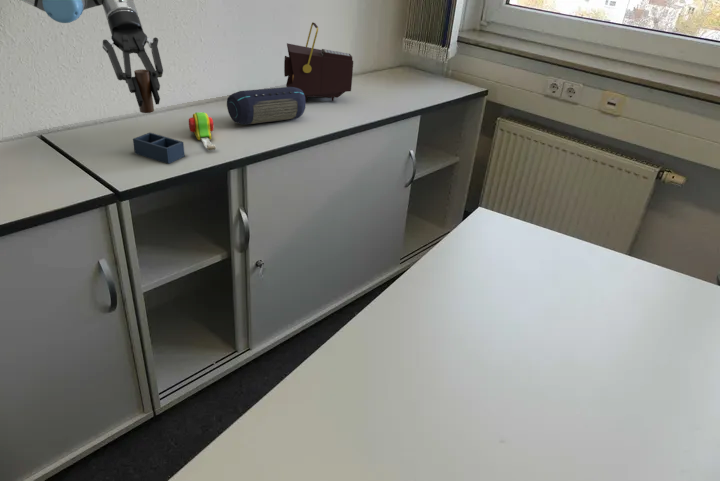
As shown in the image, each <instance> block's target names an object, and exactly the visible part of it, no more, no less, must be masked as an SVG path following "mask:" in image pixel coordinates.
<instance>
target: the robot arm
mask: <svg viewBox="0 0 720 481" xmlns="http://www.w3.org/2000/svg"><path fill="white" fill-rule="evenodd" d="M20 1H22V2H23V3H26V4H27V5H30V6H33V7H34V8H36V9H38V10H41V11H43V12H45V13H46V15H47V16H48V17H49V18H50V19H52V20H53V21H55V22H57V23H61V24H69V23H73V22H74V21H76V20H78V19H79V18H80V17H81V16H82V14H83V12H84V11H85V10H88V9H92V8H94V7H99V6H102V7H103V11H104V14H105V18H106V20H107V24H108V27H109V31H110V34H111V36H110V38H109V39H102V49H103V50H104V51H105V53H106V54H107V56H108V58H109V61H110V63H111V66H112V68H113V71H114V74H115V76H116V79H117V80H118V81H125V83H126V84H127V87H128V91H129V93H130V94H134V95H135V99H136V102H137V105H138V107H139V106H142V103H143V99H142V96H141V93H140V90H139V86H138V83H137V80H136V77H135V76H132V67H131V66H132V65H131V56H130V55H131V54H136V55H137V56H138V58H139V60H140V61H141V63H142V65H143V67H144V70H148V71H149V75H150V82H151V90H152V98H153V101H154V103H155V105H160V103H161V102H160V101H161V98H160V97H161V96H160V94H159V91H160V88H161V84H160V80H159V78H162V77H163V74H164V68H163V64H162V59H161V56H160V51H159V47H158V45H159V38H158V37H153V38H152V37H148V36H147V34H146V33H145V32H144V29H143V26H142V23H141V19H140V16H139V13H138V11H137V8H136V5H135V2H134V0H20ZM146 44H148V47H149V49H150V50H151V55H152V60H153V63H154V65H153V63H152V61H151V60H150V57H149V56H148V53H147V52H146V49H145V46H146ZM114 47H116V48H118V50H120V51H121V52H122V58H123V68H124V72H123V69H122V66H121V64H120V61H119V59H118V56H117V53H116V50H115V49H114Z"/></svg>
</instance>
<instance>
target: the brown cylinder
mask: <svg viewBox="0 0 720 481" xmlns="http://www.w3.org/2000/svg"><path fill="white" fill-rule="evenodd" d="M133 72H134V77H136V80H137V83H138V86H139V90H140V93H141V96H142V99H143V103H142V106H139V105H138V107H139V112H140V113H142V114H150V113H154V112H155V107H154V97H153V94H152V90H151V82H150V75H149V71H148V70H146V69H135V70H134V71H133Z"/></svg>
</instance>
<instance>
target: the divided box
mask: <svg viewBox="0 0 720 481" xmlns="http://www.w3.org/2000/svg"><path fill="white" fill-rule="evenodd" d="M132 142H133V149H134V154H135V155H137V156H142V157H145V158H148V159H151V160H155V161H157V162H161V163H164V164H168V165H169V164H171V163H173V162H176V161H179V160H180V159H182V158H184V157H185V146H184V141H181V140H178V139H174V138H171V137H168V136H165V135H161V134H158V133H157V134H156V133H154V132H147V133H144V134H142V135H139V136H136V137H133V138H132Z"/></svg>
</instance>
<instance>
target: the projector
mask: <svg viewBox="0 0 720 481" xmlns="http://www.w3.org/2000/svg"><path fill="white" fill-rule="evenodd" d="M313 27H314V28H315V29H316V30H315V34H314V38H313V42H312V46H311V47H308V46H309V41H310V37H311V33H312V31H313ZM318 33H319V26H318V25H317V23H316V22H314V21H313V22H311V26H310V28H309V32H308V35H307V40H306V43H305V46H303V45H299V44H292V43H287V42H286V46H287V47H286V48H287V53H288V55H284V60H283V62H284V63H283V73H284V78H286V77H287V80H286V84H285V87H295V88H299V89H301V90H302V91H303V93H304V95H305V102H307V101H308V97H309V98H310V97H311V98H331V102H334V99H335V98H339V97H341V96H342V95H344V93H346V92H352V84H353V71H354V60H353V55H351V53H348V52H342V51H337V50H331V49H326V48H321V49H319V48H315V44H316V41H317V37H318Z"/></svg>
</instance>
